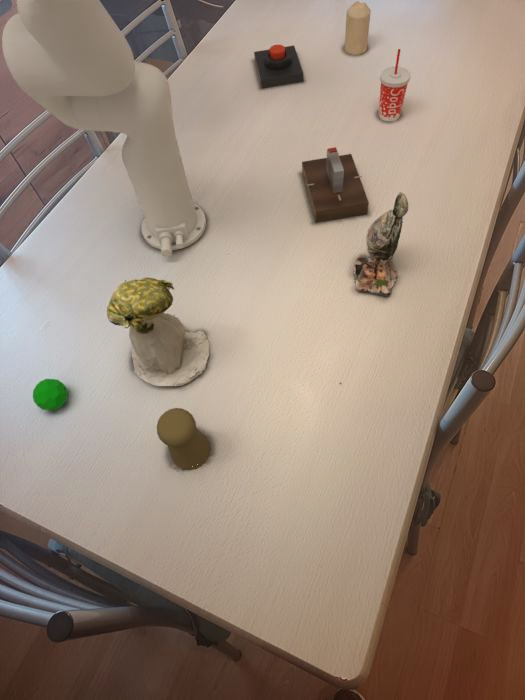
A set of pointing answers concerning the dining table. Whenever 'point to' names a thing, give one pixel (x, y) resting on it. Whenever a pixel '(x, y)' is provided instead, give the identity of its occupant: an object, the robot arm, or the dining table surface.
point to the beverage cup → (392, 91)
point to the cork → (183, 439)
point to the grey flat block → (334, 170)
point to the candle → (357, 28)
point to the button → (277, 52)
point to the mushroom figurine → (157, 333)
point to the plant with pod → (381, 251)
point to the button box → (278, 68)
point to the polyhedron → (50, 394)
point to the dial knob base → (322, 195)
